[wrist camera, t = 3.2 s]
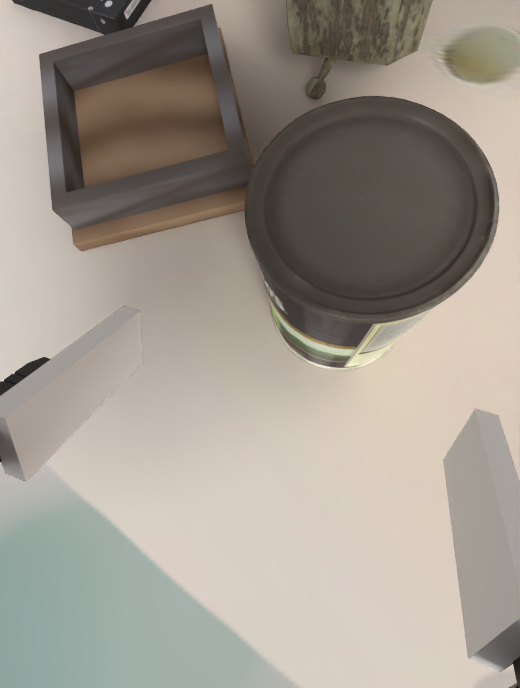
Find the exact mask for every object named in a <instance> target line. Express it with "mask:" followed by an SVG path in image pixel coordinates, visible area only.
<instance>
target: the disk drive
mask: <svg viewBox="0 0 520 688" xmlns="http://www.w3.org/2000/svg"><path fill="white" fill-rule="evenodd" d="M12 1H13V2H14V3H16V4H19V5H22V6H24V7H27V8H29V9H32V10H36V11H39V12H42V13H45V14H48V15H51V16H53V17H56V18H59V19H62V20H65V21H68V22H71V23H74V24H77V25H80V26H83V27H85V28H88V29H91V30H94V31H97V32H100V33H102V34H104V35H107V34H111V33H114V32H118V31H121V30H125V29H128V28H131V27H133V26H134V25H135V23H136V22H137V21H138V19H139V17H140V16H141V15H142V13H143V12H144V10H145V9H146V7H147V6H148V4H149V3H150V1H151V0H12Z"/></svg>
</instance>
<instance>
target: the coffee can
mask: <svg viewBox="0 0 520 688" xmlns="http://www.w3.org/2000/svg"><path fill="white" fill-rule="evenodd" d="M498 215H499V195H498V189H497V183H496V179H495V177H494V174H493V171H492V168H491V166H490V164H489V162H488V160H487V158H486V156H485V155H484V153H483V152H482V150H481V149H480V147H479V146H478V145H477V143H476V142H475V141H474V140H473V138H472V137H471V136H470V135H469V134H468V133H467V132H466V131H465V130H463V129H462V128H461V127H460V126H459V125H457V124H456V123H455V122H453V121H452V120H451V119H449V118H447V117H446V116H444V115H443V114H441V113H439V112H437V111H435V110H433V109H430V108H428V107H426V106H423V105H421V104H418V103H415V102H412V101H408V100H405V99H399V98H393V97H383V96H363V97H355V98H349V99H344V100H340V101H336V102H332V103H329V104H326V105H323V106H320V107H318V108H315V109H313V110H311V111H309V112H307V113H305V114H303V115H302V116H300V117H298V118H297V119H295V120H294V121H293V122H292V123H290V124H289V125H288V126H287V127H285V128H284V129H283V130H282V131H281V132H280V133H278V134H277V136H276V137H275V138H274V139H273V140H272V141H271V142H270V144H269V145H268V146H267V147H266V149H265V150H264V151H263V153H262V154H261V156H260V157H259V159H258V161H257V163H256V164H255V166H254V168H253V171H252V173H251V176H250V179H249V182H248V186H247V191H246V199H245V222H246V228H247V234H248V238H249V241H250V244H251V247H252V249H253V252H254V254H255V256H256V259H257V261H258V263H259V265H260V270H261V273H262V277H263V280H264V284H265V287H266V291H267V294H268V298H269V301H270V305H271V309H272V315H273V320H274V323H275V327H276V329H277V331H278V333H279V335H280V337H281V339H282V340H283V342H284V343H285V344H286V346H287V347H288V348H289V349H290V350H291V351H292V352H293V353H294V354H295V355H297V356H298V357H300V358H301V359H303V360H304V361H306V362H308V363H310V364H312V365H315V366H318V367H321V368H325V369H332V370H349V369H354V368H358V367H362V366H365V365H367V364H369V363H371V362H373V361H375V360H377V359H378V358H380V357H381V356H382V355H384V354H385V353H386V352H387V351H388V350H389V349H390V348H391V347H392V346H393V345H394V344H395V342H396V341H398V340H399V339H400V338H401V337H402V336H403V335H404V334H405V333H407V332H408V331H409V330H410V329H411V328H412V327H413V326H414V325H415V324H416V323H417V322H419V321H420V320H421V319H422V318H423V317H424V316H425V315H426V314H427V313H428V312H430V311H431V310H432V309H433V308H434V307H435V306H436V305H438V304H440V303H441V302H443V301H444V300H446V299H447V298H449V297H450V296H451V295H453V294H454V293H455V292H457V291H458V290H459V289H460V288H461V287H462V286H463V285H464V284H465V283H466V282H467V281H468V280H469V279H470V278H471V277H472V276H473V275H474V273H475V272H476V271H477V270H478V268H479V267H480V266H481V264H482V262H483V261H484V259H485V257H486V255H487V254H488V252H489V249H490V247H491V245H492V243H493V240H494V237H495V233H496V229H497V224H498Z"/></svg>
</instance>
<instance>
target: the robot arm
mask: <svg viewBox="0 0 520 688" xmlns="http://www.w3.org/2000/svg"><path fill="white" fill-rule="evenodd" d="M142 364H143V355H142V332H141V311H140V310H136V309H133V308H130V307H126V306H123V307H122V308H120V309H119V310H118V311H116V312H115V313H114V314H112V315H111V316H109V317H108V318H107V319H105V320H104V321H103V322H101V323H100V324H98V325H97V326H96V327H94V328H93V329H92V330H90V331H89V332H88V333H86V334H85V335H83V336H82V337H81V338H79V339H78V340H77V341H75V342H74V343H72V344H71V345H70V346H68V347H67V348H66V349H64V350H63V351H61V352H60V353H59V354H57V355H56V356H55V357H53V358H52V359H48V358H45V357H43V358H40V359H37V360H35V361H32V362H30V363H27V364H26V365H25V366H23V367H22V368H20V369H19V370H17V371H16V372H15V374H12V375H10V376H9V377H7V378H6V379H4V382H2V381H1V382H0V462H1V463H2V466H3V468H4V471H5V473H6V474H8V475H11V476H13V477H15V478H18V479H20V480H23V481H27V480H28V479H29V478H30V477H31V476H32V475H33V474H34V473H35V472H36V471H37V470H38V469H39V468H40V467H41V466H42V465H43V464H44V463H45V462H46V461H47V460H48V459H49V458H50V457H51V456H52V455H53V454H54V453H55V452H56V451H57V450H58V449H59V448H60V447H61V446H62V445H63V444H64V443H65V442H66V441H67V440H68V439H69V438H70V437H71V436H72V435H73V434H74V433H75V432H76V431H77V430H78V429H79V428H80V427H81V426H82V425H83V424H84V423H85V422H86V421H87V420H88V419H89V418H90V417H91V416H92V415H93V414H94V413H95V412H96V411H97V410H98V409H99V408H100V407H101V406H102V405H103V404H104V403H105V402H106V401H107V400H108V399H109V398H110V397H111V396H112V395H113V394H114V393H115V392H116V391H117V390H118V389H119V388H120V386H121V385H122V384H123V383H124V382H125V381H126V380H127V379H128V378H129V377H130V376H131V375H132V374H133V373H134V372H135V371H136V370H137V369H138V368H139V367H140V366H141V365H142ZM443 461H444V469H445V477H446V485H447V493H448V501H449V509H450V517H451V525H452V533H453V541H454V549H455V557H456V565H457V573H458V581H459V589H460V597H461V605H462V613H463V621H464V629H465V637H466V645H467V653H468V659H469V660H471V661H474V662H476V663H479V664H481V665H484V666H486V667H489V668H491V669H494V670H496V671H499V672H502V671H503V670H504V669H506V668H507V667H509V666H510V665H512V664H513V665H514V670H515V675H516V680H517V683H516V684H514V685H513V686H511V687H509V688H520V482H519V479H518V476H517V472H516V469H515V466H514V463H513V460H512V457H511V454H510V451H509V447H508V444H507V441H506V438H505V435H504V432H503V429H502V426H501V422H500V419H499V416H498V415H495V414H492V413H488V412H485V411H481V410H478V409H475V410H474V411H473V413H472V415H471V416H470V418H469V419H468V421H467V423H466V424H465V426H464V427H463V429H462V431H461V432H460V434H459V435H458V437H457V439H456V440H455V442H454V443H453V445H452V447H451V448H450V450H449V451H448V453H447V455H446V456H445V458H444V459H443Z"/></svg>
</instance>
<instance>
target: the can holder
mask: <svg viewBox="0 0 520 688" xmlns="http://www.w3.org/2000/svg"><path fill="white" fill-rule="evenodd" d="M39 59H40V70H41V82H42V94H43V105H44V117H45V129H46V140H47V152H48V164H49V175H50V187H51V199H52V210H53V211H54V212H55V213H56V214H57V215H59V216H60V217H61V218H62V219H63V220H64V221H66V222H67V223H68V224H69V225H70V226H71V227H72V236H73V245H75V246H76V247H77V248H78V249H80V250H81V251H84V250H87V249H91V248H95V247H99V246H103V245H107V244H111V243H115V242H119V241H123V240H127V239H131V238H135V237H139V236H143V235H147V234H151V233H155V232H159V231H163V230H167V229H171V228H174V227H178V226H182V225H186V224H190V223H194V222H198V221H202V220H206V219H210V218H214V217H218V216H222V215H226V214H230V213H234V212H238V211H242V210H245V199H246V191H247V186H248V182H249V179H250V176H251V173H252V171H253V165H252V161H251V156H250V152H249V148H248V143H247V139H246V135H245V131H244V126H243V122H242V118H241V113H240V109H239V105H238V101H237V96H236V92H235V88H234V84H233V79H232V75H231V71H230V66H229V62H228V58H227V54H226V49H225V45H224V41H223V36H222V32H221V28H217V23H216V19H215V15H214V10H213V6H212V4H210V5H207V6H204V7H200V8H197V9H193V10H190V11H186V12H183V13H179V14H176V15H173V16H169V17H166V18H162V19H159V20H155V21H152V22H149V23H145V24H142V25H138V26H135V27H131V28H128V29H125V30H121V31H118V32H114V33H111V34H107V35H104V36H100V37H97V38H94V39H90V40H87V41H83V42H80V43H76V44H73V45H70V46H66V47H63V48H59V49H56V50H52V51H49V52H46V53H42V54H39Z"/></svg>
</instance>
